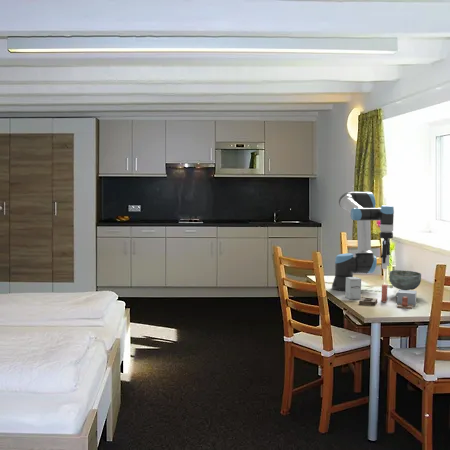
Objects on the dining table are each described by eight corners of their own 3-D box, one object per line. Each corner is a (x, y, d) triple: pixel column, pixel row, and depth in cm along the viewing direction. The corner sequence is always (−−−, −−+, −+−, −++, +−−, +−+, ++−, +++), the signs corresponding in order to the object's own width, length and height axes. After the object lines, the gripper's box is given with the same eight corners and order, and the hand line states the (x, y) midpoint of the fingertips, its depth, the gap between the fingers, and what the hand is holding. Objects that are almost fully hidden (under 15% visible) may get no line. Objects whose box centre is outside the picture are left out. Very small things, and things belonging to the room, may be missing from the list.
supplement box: (349, 299, 381) (350, 278, 380) (344, 297, 388) (345, 276, 387) (361, 299, 383) (361, 278, 382) (356, 296, 390) (356, 276, 389)
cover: (398, 301, 378) (399, 289, 377) (416, 302, 374) (416, 290, 374) (397, 304, 368) (397, 292, 368) (414, 305, 365) (415, 293, 364)
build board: (361, 301, 377) (362, 297, 377) (377, 302, 374) (377, 298, 373) (359, 304, 366) (359, 300, 366) (374, 305, 363) (374, 302, 363)
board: (398, 305, 366) (398, 294, 366) (412, 306, 363) (413, 295, 363) (397, 307, 359) (397, 297, 358) (411, 308, 356) (412, 298, 356)
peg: (381, 300, 378) (382, 284, 377) (387, 301, 377) (387, 284, 376) (381, 301, 375) (381, 285, 374) (386, 302, 374) (387, 285, 373)
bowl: (399, 299, 382) (399, 275, 381) (382, 294, 401) (383, 270, 399) (427, 298, 387) (428, 274, 386) (410, 292, 406) (411, 269, 405)
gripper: (382, 229, 386) (381, 264, 387) (377, 232, 362) (376, 269, 364) (395, 230, 383) (394, 264, 385) (390, 233, 360) (389, 270, 361)
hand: (385, 267), depth 374 cm, fingers open, 13 cm apart
